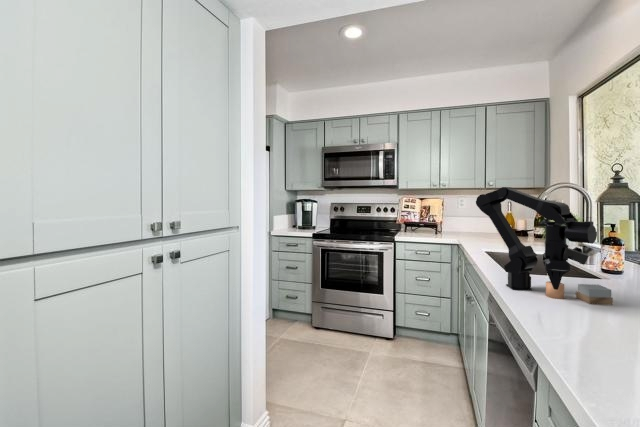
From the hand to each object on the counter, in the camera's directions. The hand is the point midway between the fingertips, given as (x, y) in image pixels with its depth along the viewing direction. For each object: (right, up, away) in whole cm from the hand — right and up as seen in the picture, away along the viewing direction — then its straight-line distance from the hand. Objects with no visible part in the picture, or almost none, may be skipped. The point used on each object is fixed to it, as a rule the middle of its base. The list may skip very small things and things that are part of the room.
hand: (554, 285), depth 108 cm
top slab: (+9, -2, -5) cm, 10 cm away
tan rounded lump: (0, -4, 0) cm, 4 cm away
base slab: (+9, -4, -5) cm, 11 cm away
